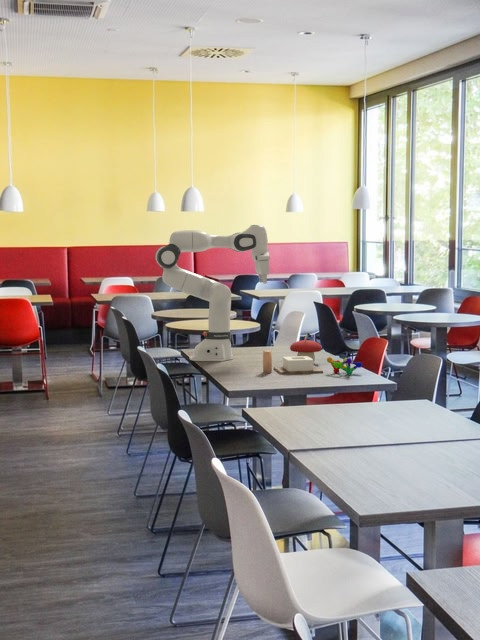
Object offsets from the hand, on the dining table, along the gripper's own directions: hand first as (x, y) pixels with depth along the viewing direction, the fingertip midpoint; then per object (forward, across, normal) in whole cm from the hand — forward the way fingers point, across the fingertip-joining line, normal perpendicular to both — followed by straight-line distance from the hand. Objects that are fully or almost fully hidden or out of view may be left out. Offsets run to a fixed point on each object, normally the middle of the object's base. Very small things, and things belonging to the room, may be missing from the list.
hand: (263, 282), depth 439 cm
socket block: (+39, +46, +4) cm, 61 cm away
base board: (+39, +46, +4) cm, 61 cm away
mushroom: (+40, +24, +13) cm, 49 cm away
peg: (+38, +48, -11) cm, 62 cm away
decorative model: (+42, +58, +23) cm, 75 cm away
